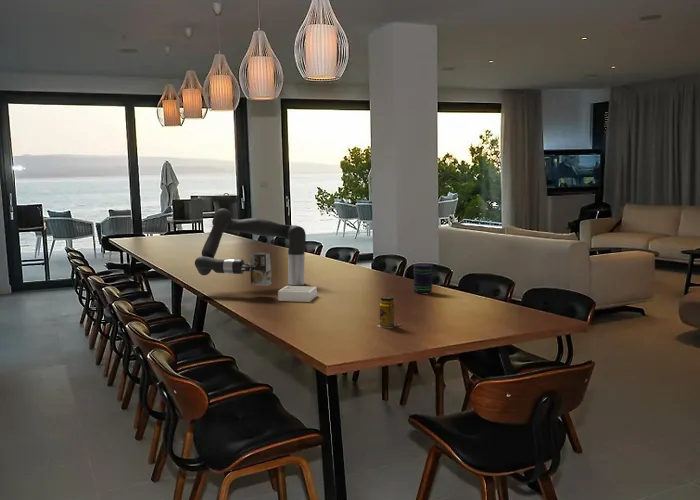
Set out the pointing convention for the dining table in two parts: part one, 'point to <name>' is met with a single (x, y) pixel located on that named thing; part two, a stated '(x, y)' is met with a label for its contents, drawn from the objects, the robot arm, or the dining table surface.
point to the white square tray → (297, 293)
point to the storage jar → (422, 278)
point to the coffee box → (265, 275)
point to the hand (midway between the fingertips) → (265, 267)
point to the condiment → (387, 312)
